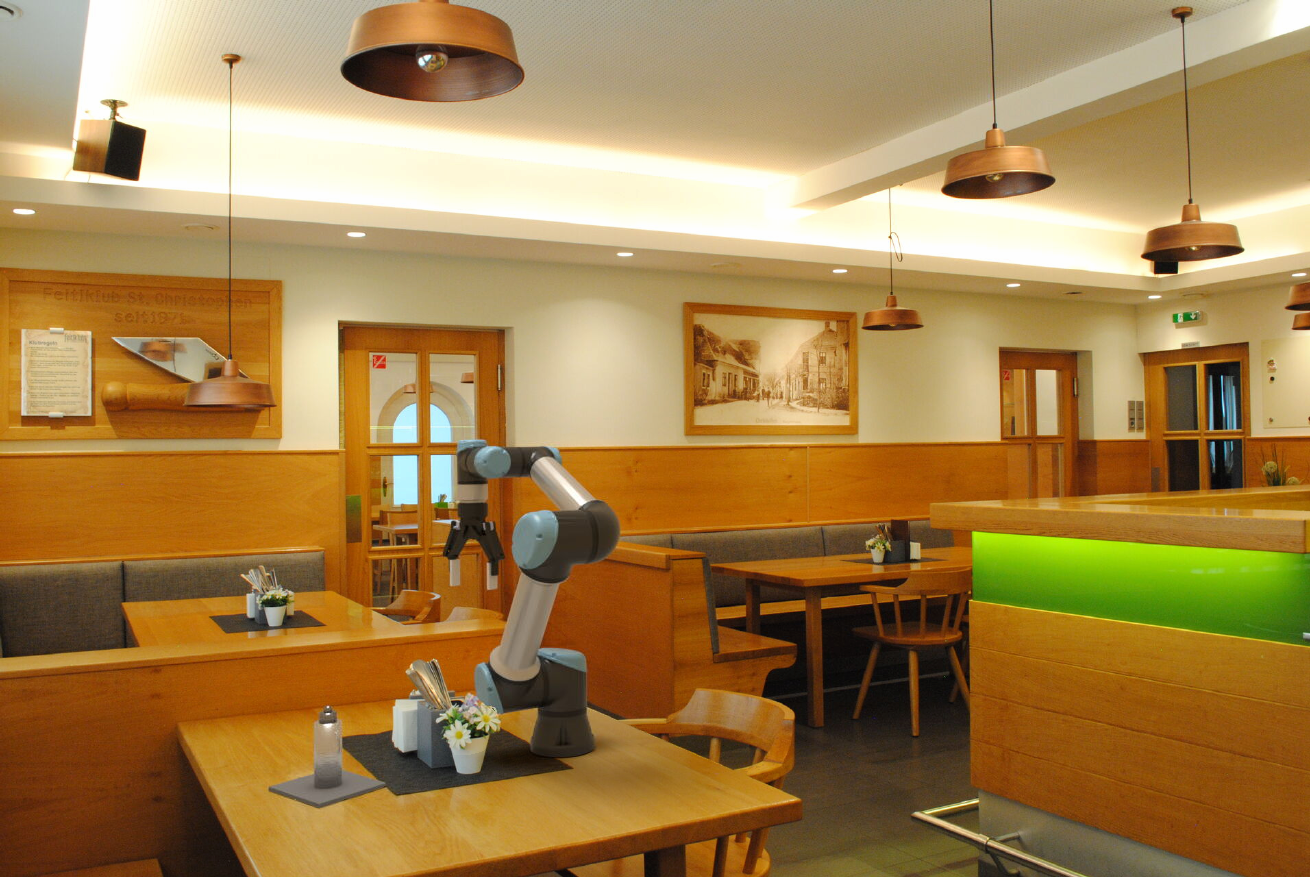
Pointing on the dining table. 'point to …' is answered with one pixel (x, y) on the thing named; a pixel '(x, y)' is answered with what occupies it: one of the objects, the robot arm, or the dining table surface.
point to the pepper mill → (327, 750)
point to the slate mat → (319, 798)
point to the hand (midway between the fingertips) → (473, 587)
